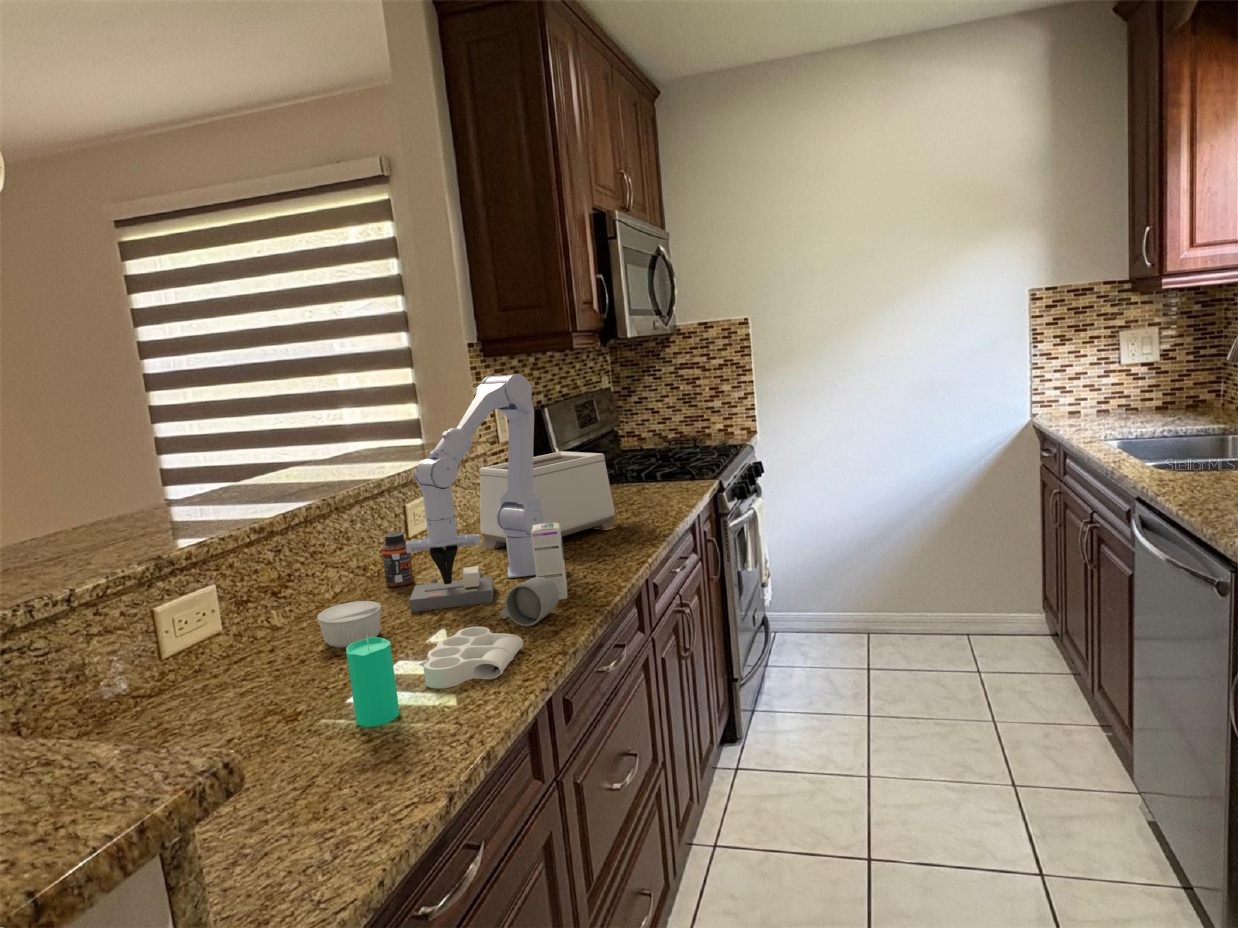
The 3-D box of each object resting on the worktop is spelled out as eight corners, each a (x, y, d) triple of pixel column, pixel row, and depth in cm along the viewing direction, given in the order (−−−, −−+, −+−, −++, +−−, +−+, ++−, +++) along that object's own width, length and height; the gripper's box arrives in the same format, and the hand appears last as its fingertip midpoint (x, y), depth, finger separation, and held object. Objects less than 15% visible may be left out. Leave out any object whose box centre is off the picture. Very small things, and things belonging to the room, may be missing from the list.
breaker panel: (494, 576, 176) (493, 564, 176) (492, 602, 158) (491, 589, 158) (421, 584, 174) (419, 573, 174) (410, 612, 156) (409, 599, 156)
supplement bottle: (406, 587, 173) (399, 537, 172) (381, 588, 175) (374, 538, 173) (418, 579, 179) (412, 530, 178) (394, 579, 181) (387, 531, 179)
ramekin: (358, 652, 137) (354, 623, 136) (306, 648, 141) (302, 620, 140) (397, 628, 147) (393, 601, 147) (348, 626, 151) (344, 599, 151)
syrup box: (567, 599, 156) (560, 527, 154) (537, 602, 155) (530, 530, 153) (567, 590, 161) (560, 521, 159) (538, 593, 161) (531, 524, 159)
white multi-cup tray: (495, 690, 117) (403, 691, 120) (529, 644, 135) (448, 645, 137) (492, 669, 117) (400, 670, 119) (527, 625, 134) (446, 627, 137)
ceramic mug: (563, 611, 149) (558, 572, 147) (544, 627, 141) (539, 585, 140) (513, 610, 152) (508, 571, 151) (492, 625, 145) (487, 585, 144)
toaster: (625, 525, 216) (619, 450, 212) (528, 556, 191) (519, 473, 188) (577, 519, 229) (570, 448, 226) (480, 547, 205) (472, 469, 202)
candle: (361, 709, 114) (349, 629, 112) (403, 704, 114) (393, 625, 112) (351, 729, 108) (338, 645, 106) (395, 723, 108) (384, 640, 106)
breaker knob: (480, 579, 165) (478, 566, 164) (479, 585, 160) (477, 572, 159) (465, 580, 164) (463, 567, 164) (464, 587, 159) (462, 574, 159)
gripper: (400, 525, 154) (409, 592, 156) (476, 517, 156) (483, 583, 158) (405, 518, 161) (413, 582, 163) (477, 510, 163) (484, 574, 165)
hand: (448, 582), depth 161 cm, fingers closed
